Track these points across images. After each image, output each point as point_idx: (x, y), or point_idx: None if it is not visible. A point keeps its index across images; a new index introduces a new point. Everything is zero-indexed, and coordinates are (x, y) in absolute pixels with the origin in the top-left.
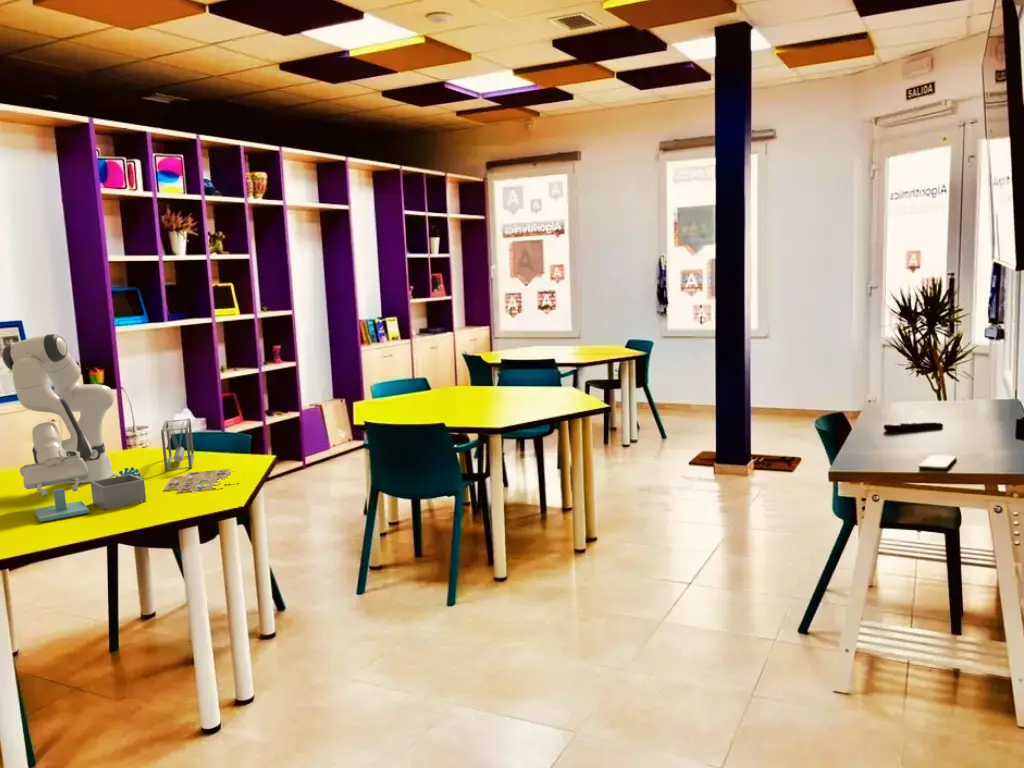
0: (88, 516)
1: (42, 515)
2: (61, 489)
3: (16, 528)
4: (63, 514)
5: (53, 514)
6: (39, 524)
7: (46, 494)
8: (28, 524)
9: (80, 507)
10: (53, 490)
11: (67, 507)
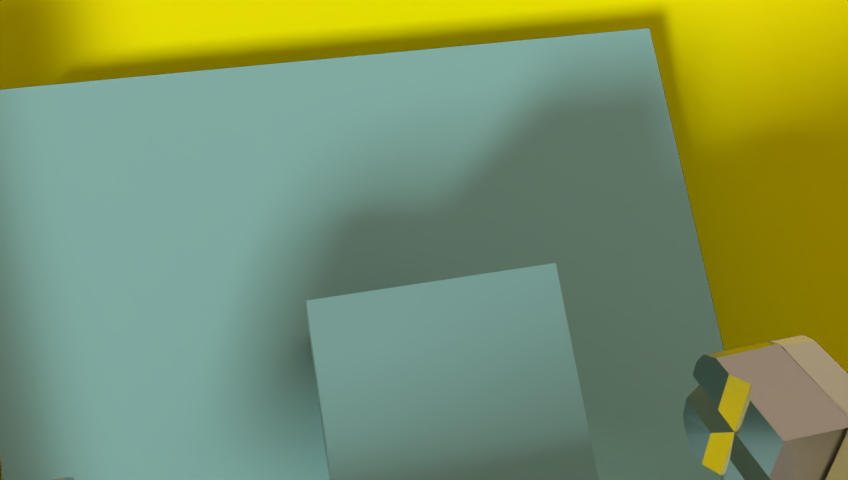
0: (37, 9)
1: (627, 153)
2: (380, 340)
3: (842, 20)
4: (354, 60)
5: (486, 107)
6: (621, 25)
7: (715, 355)
8: (744, 115)
9: (91, 303)
10: (589, 473)
11: (294, 456)
